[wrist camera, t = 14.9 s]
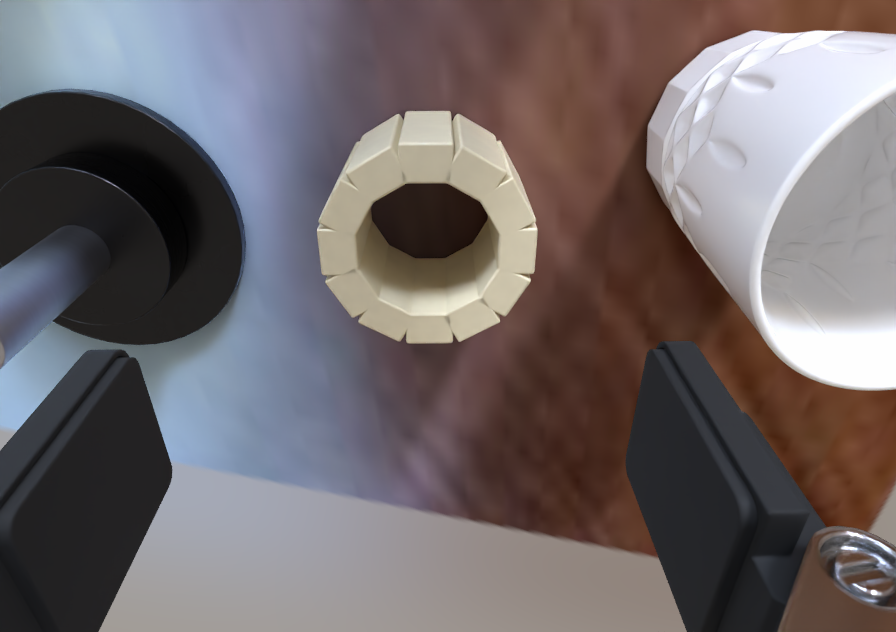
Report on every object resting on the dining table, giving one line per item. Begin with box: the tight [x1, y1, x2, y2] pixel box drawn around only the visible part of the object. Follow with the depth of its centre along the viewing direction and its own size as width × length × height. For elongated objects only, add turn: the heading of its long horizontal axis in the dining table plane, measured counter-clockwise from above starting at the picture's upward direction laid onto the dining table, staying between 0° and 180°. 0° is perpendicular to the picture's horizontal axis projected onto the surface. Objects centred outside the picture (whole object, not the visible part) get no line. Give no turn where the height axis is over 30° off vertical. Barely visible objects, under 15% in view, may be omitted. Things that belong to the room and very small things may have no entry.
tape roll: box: [317, 111, 538, 344], centre depth 21 cm, size 7×7×4 cm
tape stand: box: [0, 89, 246, 369], centre depth 19 cm, size 10×10×8 cm
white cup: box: [646, 30, 896, 390], centre depth 17 cm, size 8×8×10 cm
